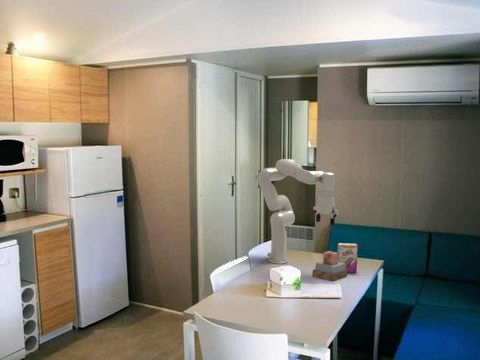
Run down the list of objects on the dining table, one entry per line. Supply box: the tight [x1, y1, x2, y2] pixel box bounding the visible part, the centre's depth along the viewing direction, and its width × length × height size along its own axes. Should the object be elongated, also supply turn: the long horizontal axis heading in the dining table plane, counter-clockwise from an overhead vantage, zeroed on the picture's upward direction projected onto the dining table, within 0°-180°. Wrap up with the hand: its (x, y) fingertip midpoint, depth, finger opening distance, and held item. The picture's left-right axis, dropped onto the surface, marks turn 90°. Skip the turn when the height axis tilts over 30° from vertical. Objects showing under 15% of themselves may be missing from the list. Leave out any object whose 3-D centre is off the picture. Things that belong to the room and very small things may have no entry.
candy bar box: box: [337, 242, 359, 274], centre depth 276 cm, size 11×5×16 cm, turn 84°
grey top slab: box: [314, 260, 346, 274], centre depth 267 cm, size 12×12×4 cm
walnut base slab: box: [311, 268, 348, 282], centre depth 267 cm, size 14×14×4 cm
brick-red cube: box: [322, 250, 338, 265], centre depth 266 cm, size 6×6×6 cm
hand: (325, 223), depth 272 cm, fingers open, 9 cm apart
